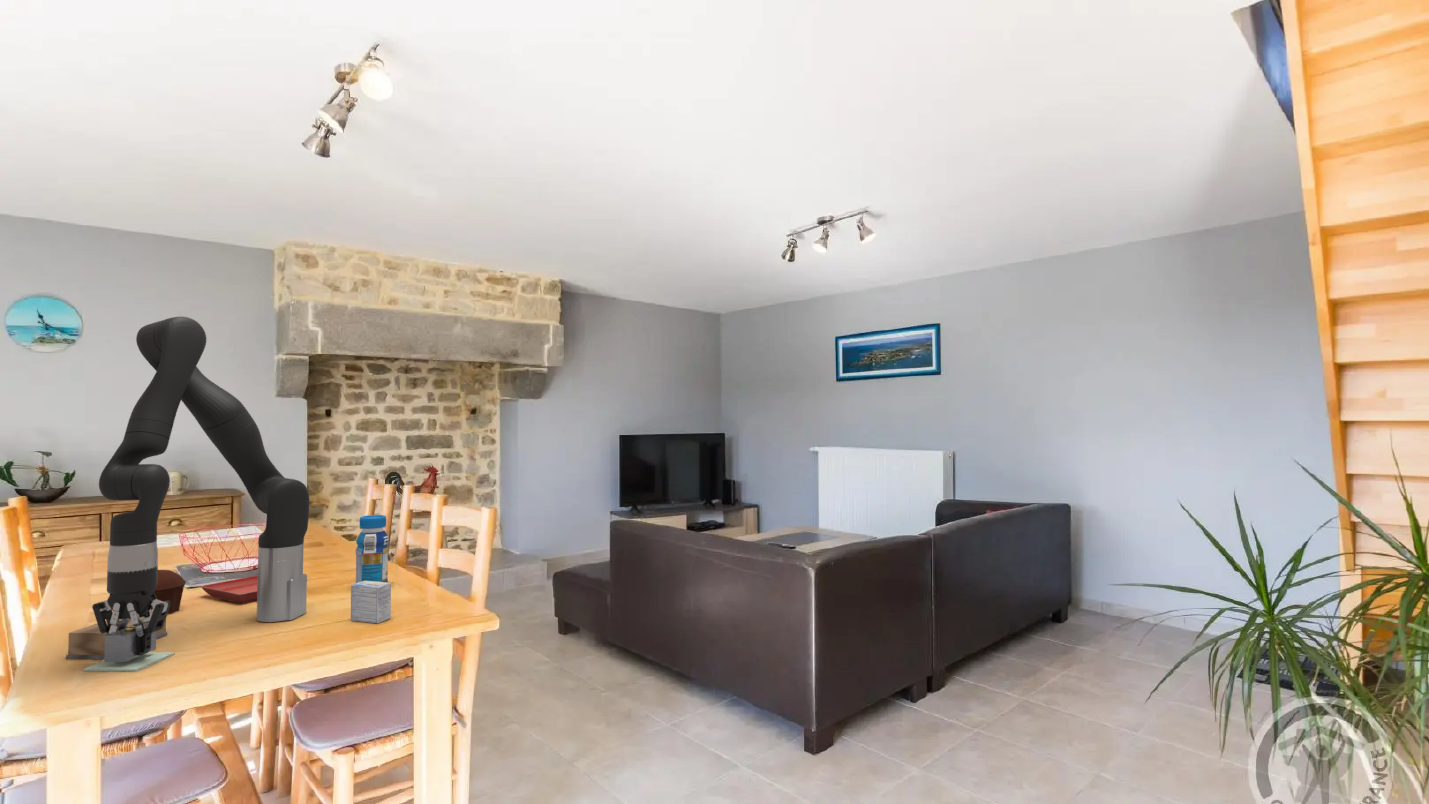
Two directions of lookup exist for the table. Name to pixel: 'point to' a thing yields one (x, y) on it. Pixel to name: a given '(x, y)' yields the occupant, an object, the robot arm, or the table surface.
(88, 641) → the body
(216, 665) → the table surface
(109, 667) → the mat
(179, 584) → the muffin
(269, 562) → the robot arm
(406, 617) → the table surface
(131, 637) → the block with brass knob
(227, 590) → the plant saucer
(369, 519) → the beverage bottle
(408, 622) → the table surface
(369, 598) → the medicine box
